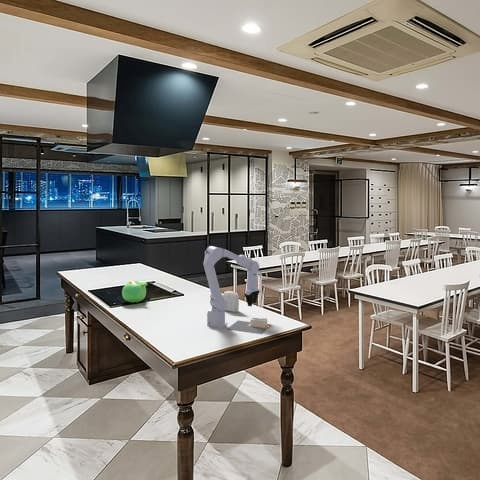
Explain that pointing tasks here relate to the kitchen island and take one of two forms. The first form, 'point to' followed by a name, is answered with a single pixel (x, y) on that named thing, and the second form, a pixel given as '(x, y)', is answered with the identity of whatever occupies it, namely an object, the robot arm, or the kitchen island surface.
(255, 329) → the mat
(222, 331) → the kitchen island surface
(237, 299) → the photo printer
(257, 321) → the card deck
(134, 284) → the green apple
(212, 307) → the robot arm
